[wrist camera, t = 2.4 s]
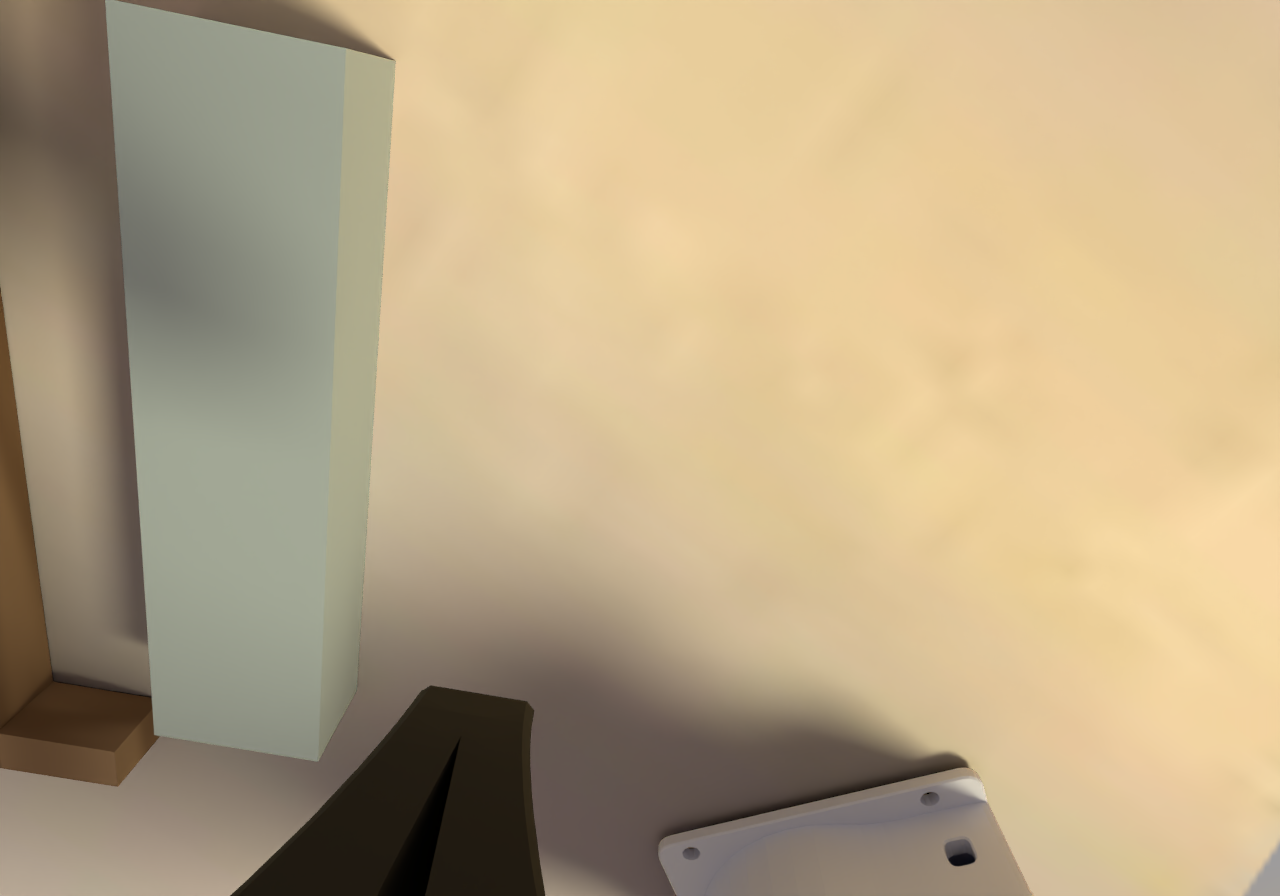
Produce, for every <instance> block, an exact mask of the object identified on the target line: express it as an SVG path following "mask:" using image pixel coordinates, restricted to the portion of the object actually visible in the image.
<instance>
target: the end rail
mask: <svg viewBox="0 0 1280 896" xmlns="http://www.w3.org/2000/svg"><path fill="white" fill-rule="evenodd" d="M159 737H160V736H157V735H154V724H153V709H152V698H150V697H144V696H138V695H131V694H125V693H119V692H113V691H107V690H101V689H95V688H89V687H83V686H77V685H70V684H64V683H58V682H53V677H52V670H51V663H50V655H49V648H48V640H47V633H46V625H45V618H44V610H43V603H42V595H41V588H40V580H39V573H38V565H37V558H36V550H35V543H34V536H33V528H32V521H31V513H30V506H29V498H28V491H27V483H26V476H25V468H24V461H23V453H22V446H21V438H20V431H19V424H18V416H17V409H16V401H15V394H14V386H13V379H12V371H11V364H10V356H9V349H8V341H7V334H6V326H5V319H4V312H3V304H2V297H1V289H0V768H4V769H10V770H16V771H23V772H29V773H35V774H42V775H48V776H54V777H61V778H67V779H73V780H80V781H86V782H92V783H98V784H105V785H111V786H117V787H118V786H119V785H120V783H121V782H122V781H123V780H124V779H125V777H126V776H127V775H128V774H129V773H130V771H131V770H132V769H133V768H134V767H135V765H136V764H137V763H138V762H139V761H140V759H141V758H142V757H143V756H144V755H145V753H146V752H147V751H148V750H149V749H150V747H151V746H152V745H153V744H154V743H155V741H156V740H157V739H158V738H159Z"/></svg>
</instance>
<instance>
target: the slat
mask: <svg viewBox="0 0 1280 896" xmlns="http://www.w3.org/2000/svg"><path fill="white" fill-rule="evenodd" d="M105 7H106V22H107V37H108V52H109V67H110V82H111V97H112V111H113V126H114V141H115V156H116V171H117V186H118V201H119V216H120V231H121V246H122V261H123V276H124V291H125V306H126V321H127V336H128V350H129V365H130V380H131V395H132V410H133V425H134V440H135V455H136V470H137V485H138V500H139V515H140V530H141V545H142V560H143V575H144V589H145V604H146V619H147V634H148V649H149V664H150V679H151V694H152V709H153V724H154V735H157V736H163V737H169V738H175V739H181V740H187V741H193V742H200V743H206V744H212V745H218V746H224V747H230V748H236V749H242V750H249V751H255V752H261V753H267V754H273V755H279V756H285V757H292V758H298V759H304V760H310V761H316V762H318V761H319V759H320V757H321V756H322V754H323V752H324V750H325V748H326V746H327V744H328V743H329V741H330V739H331V737H332V735H333V733H334V732H335V730H336V728H337V726H338V724H339V722H340V720H341V719H342V717H343V715H344V713H345V711H346V709H347V708H348V706H349V704H350V702H351V700H352V698H353V697H354V695H355V693H356V691H357V681H358V665H359V648H360V632H361V616H362V600H363V584H364V567H365V551H366V535H367V519H368V502H369V486H370V470H371V454H372V437H373V421H374V405H375V389H376V372H377V356H378V340H379V324H380V307H381V291H382V275H383V259H384V242H385V226H386V210H387V194H388V177H389V161H390V145H391V129H392V112H393V96H394V80H395V64H396V61H394V60H390V59H386V58H382V57H378V56H375V55H371V54H367V53H363V52H359V51H355V50H351V49H347V48H343V47H338V46H333V45H328V44H323V43H319V42H314V41H309V40H304V39H299V38H295V37H290V36H285V35H280V34H275V33H270V32H266V31H261V30H256V29H251V28H246V27H242V26H237V25H232V24H227V23H222V22H218V21H213V20H208V19H203V18H198V17H194V16H189V15H184V14H179V13H174V12H169V11H165V10H160V9H155V8H150V7H145V6H141V5H136V4H131V3H126V2H121V1H117V0H105Z"/></svg>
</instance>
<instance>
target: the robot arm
mask: <svg viewBox="0 0 1280 896" xmlns="http://www.w3.org/2000/svg"><path fill="white" fill-rule="evenodd" d="M533 715H534V710H533V708H532V707H531V706H530V705H529V703H528V702H527V701H521V700H514V699H508V698H502V697H496V696H490V695H484V694H478V693H472V692H466V691H460V690H454V689H448V688H442V687H436V686H429V687H427V688H426V689H424V690H422V691H421V692H420V693H419V695H418V696H417V697H416V699H415V700H414V702H413V703H412V704H411V706H410V707H409V708H408V709H407V711H406V712H405V713H404V715H403V716H402V717H401V718H400V720H399V721H398V722H397V723H396V725H395V726H394V727H393V728H392V729H391V731H390V732H389V733H388V734H387V735H386V737H385V738H384V739H383V740H382V741H381V743H380V744H379V745H378V746H377V747H376V748H375V749H374V751H373V752H372V753H371V754H370V755H369V756H368V757H367V759H366V760H365V761H364V762H363V763H362V764H361V765H360V767H359V768H358V769H357V770H356V771H355V772H354V773H353V774H352V775H351V776H350V777H349V778H348V779H347V781H346V782H345V783H344V784H343V785H342V786H341V787H340V788H339V789H338V790H337V791H336V792H335V793H334V794H333V796H332V797H331V798H330V799H329V800H328V801H327V802H326V803H325V804H324V805H323V806H322V807H321V808H320V809H319V810H318V812H317V813H316V814H315V815H314V816H313V817H312V818H311V819H310V820H309V821H308V822H307V823H306V824H305V825H304V826H303V827H302V828H301V829H300V830H299V831H298V832H297V833H296V834H295V835H294V836H292V837H291V838H290V839H289V840H288V841H287V842H286V843H285V844H284V845H283V846H282V847H281V848H280V849H279V850H278V851H277V852H276V853H275V854H274V855H273V856H272V857H271V858H270V859H269V860H268V861H267V862H266V863H265V864H264V865H262V866H261V867H260V868H259V869H258V870H257V871H256V872H255V873H254V874H253V875H252V876H251V877H250V878H249V879H248V880H247V881H246V882H245V883H244V884H243V885H241V886H240V887H239V888H238V889H237V890H236V891H235V892H234V893H233V894H232V895H230V896H545V891H544V885H543V879H542V873H541V867H540V860H539V852H538V845H537V837H536V829H535V822H534V814H533V803H532V791H531V771H530V738H531V727H532V721H533ZM927 792H932V793H930V794H928V795H923V794H925V793H927ZM688 847H694V848H692V849H689V848H688ZM658 856H659V860H660V863H661V865H662V867H663V869H664V871H665V873H666V875H667V877H668V880H669V882H670V884H671V886H672V888H673V890H674V892H675V894H676V896H1034V894H1033V893H1032V892H1031V891H1030V889H1029V887H1028V885H1027V883H1026V881H1025V879H1024V876H1023V874H1022V872H1021V870H1020V868H1019V866H1018V864H1017V862H1016V860H1015V858H1014V856H1013V854H1012V852H1011V849H1010V847H1009V845H1008V843H1007V841H1006V839H1005V837H1004V835H1003V833H1002V831H1001V829H1000V827H999V825H998V822H997V820H996V818H995V816H994V814H993V812H992V810H991V808H990V806H989V804H988V802H987V798H986V794H985V790H984V785H983V783H982V781H981V779H980V777H979V775H978V774H977V772H976V771H974V770H973V769H970V768H956V769H952V770H947V771H943V772H939V773H935V774H930V775H926V776H922V777H918V778H913V779H909V780H905V781H900V782H896V783H892V784H888V785H883V786H879V787H875V788H870V789H866V790H862V791H858V792H853V793H849V794H845V795H841V796H836V797H832V798H828V799H823V800H819V801H815V802H811V803H806V804H802V805H798V806H794V807H789V808H785V809H781V810H776V811H772V812H768V813H764V814H759V815H755V816H751V817H746V818H742V819H738V820H734V821H729V822H725V823H721V824H717V825H712V826H708V827H704V828H699V829H695V830H691V831H687V832H682V833H678V834H674V835H670V836H667V837H665V838H663V839H662V840H661V841H660V843H659V846H658Z"/></svg>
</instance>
